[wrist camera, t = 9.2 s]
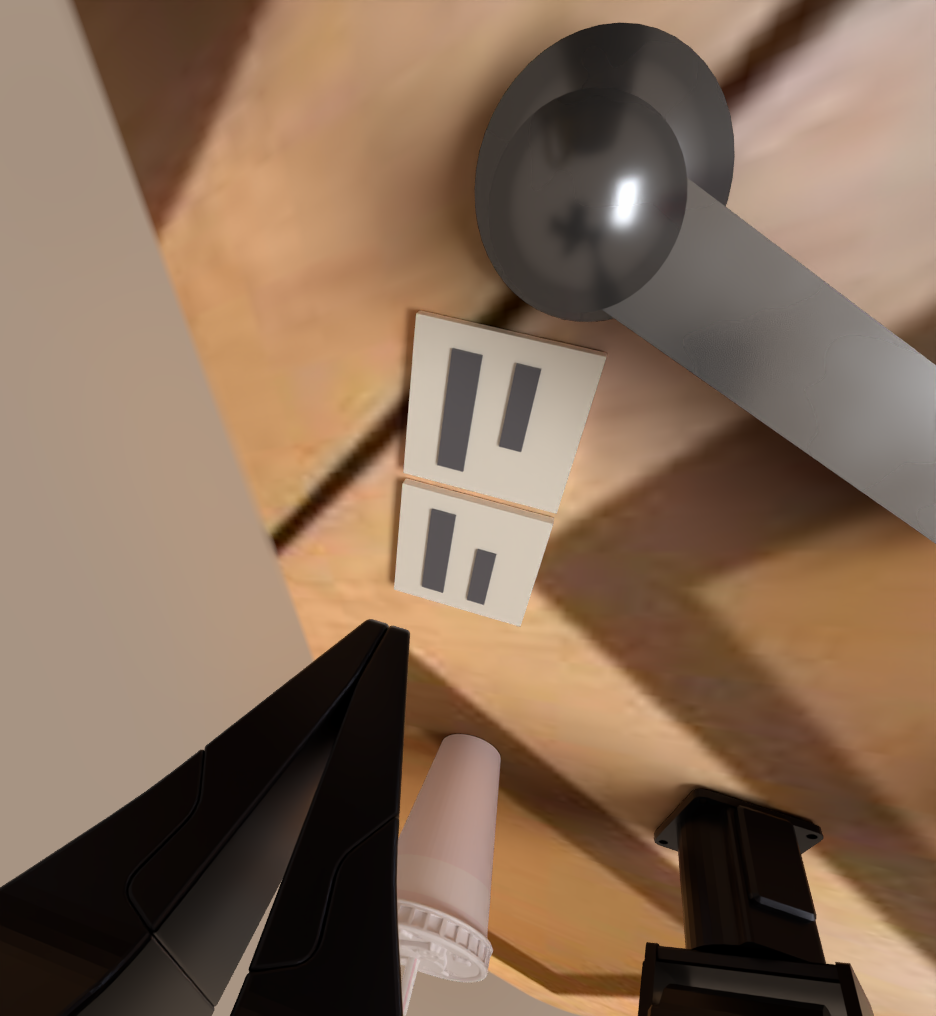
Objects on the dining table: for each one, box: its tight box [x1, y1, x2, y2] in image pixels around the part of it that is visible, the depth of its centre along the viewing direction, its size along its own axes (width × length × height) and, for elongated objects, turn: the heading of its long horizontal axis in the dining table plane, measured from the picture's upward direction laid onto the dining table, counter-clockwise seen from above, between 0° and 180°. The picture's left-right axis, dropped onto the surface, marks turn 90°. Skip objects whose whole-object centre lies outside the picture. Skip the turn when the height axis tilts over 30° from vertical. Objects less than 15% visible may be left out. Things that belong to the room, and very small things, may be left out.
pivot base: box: [475, 23, 734, 322], centre depth 13 cm, size 6×6×1 cm
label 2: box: [394, 478, 554, 627], centre depth 21 cm, size 6×6×1 cm
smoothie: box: [397, 734, 501, 1016], centre depth 25 cm, size 6×6×14 cm
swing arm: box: [488, 87, 936, 544], centre depth 11 cm, size 18×3×4 cm, turn 60°
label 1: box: [403, 310, 607, 514], centre depth 17 cm, size 6×6×1 cm
